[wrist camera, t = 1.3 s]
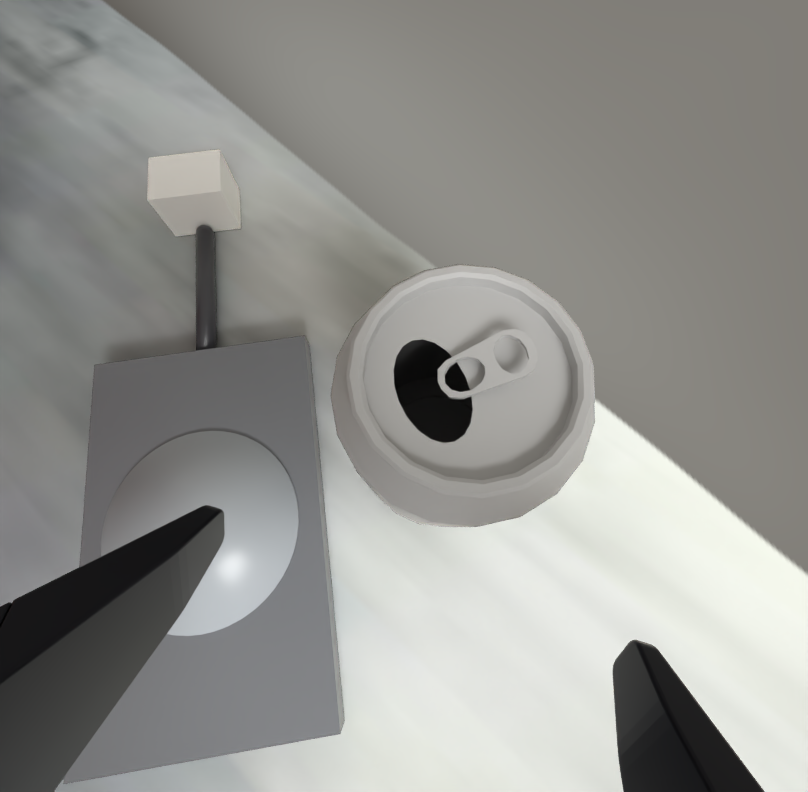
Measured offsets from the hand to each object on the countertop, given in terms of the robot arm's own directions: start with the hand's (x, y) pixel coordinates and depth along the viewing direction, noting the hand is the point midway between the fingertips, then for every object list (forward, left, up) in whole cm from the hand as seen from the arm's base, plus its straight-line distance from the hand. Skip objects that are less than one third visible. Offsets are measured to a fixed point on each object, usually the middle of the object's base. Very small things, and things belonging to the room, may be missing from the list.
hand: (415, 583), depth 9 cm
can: (+5, -2, -12) cm, 13 cm away
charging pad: (+8, +9, -12) cm, 17 cm away
